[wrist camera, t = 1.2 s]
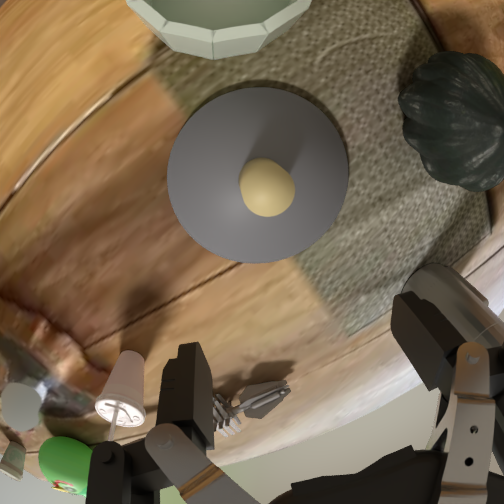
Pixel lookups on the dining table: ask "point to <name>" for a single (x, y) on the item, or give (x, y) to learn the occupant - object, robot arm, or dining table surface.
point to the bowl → (218, 23)
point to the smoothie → (123, 393)
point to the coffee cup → (13, 461)
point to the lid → (257, 175)
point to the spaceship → (247, 405)
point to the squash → (457, 119)
